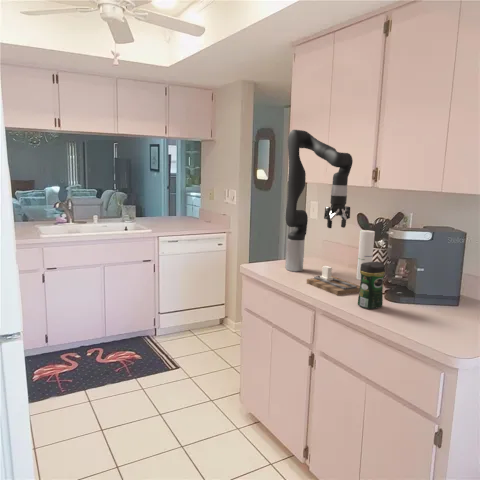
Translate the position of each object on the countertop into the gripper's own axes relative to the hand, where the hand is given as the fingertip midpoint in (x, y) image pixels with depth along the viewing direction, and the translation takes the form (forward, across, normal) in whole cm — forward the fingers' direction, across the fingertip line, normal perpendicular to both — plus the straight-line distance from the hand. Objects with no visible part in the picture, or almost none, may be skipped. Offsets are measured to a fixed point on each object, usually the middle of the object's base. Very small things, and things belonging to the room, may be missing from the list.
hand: (336, 227), depth 200 cm
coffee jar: (+27, +12, +38) cm, 48 cm away
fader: (+25, +7, +3) cm, 26 cm away
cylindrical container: (+27, -18, +3) cm, 33 cm away
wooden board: (+27, +7, +10) cm, 29 cm away
